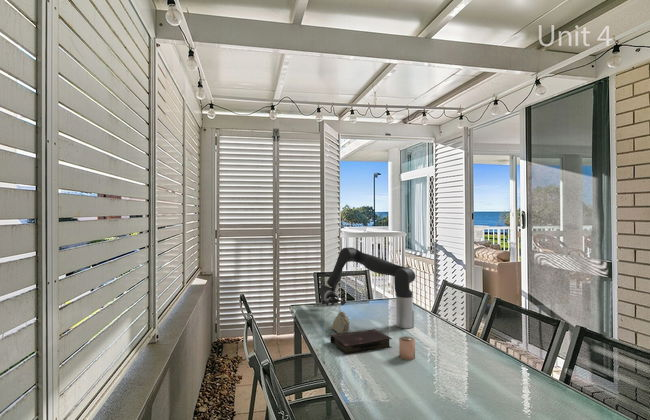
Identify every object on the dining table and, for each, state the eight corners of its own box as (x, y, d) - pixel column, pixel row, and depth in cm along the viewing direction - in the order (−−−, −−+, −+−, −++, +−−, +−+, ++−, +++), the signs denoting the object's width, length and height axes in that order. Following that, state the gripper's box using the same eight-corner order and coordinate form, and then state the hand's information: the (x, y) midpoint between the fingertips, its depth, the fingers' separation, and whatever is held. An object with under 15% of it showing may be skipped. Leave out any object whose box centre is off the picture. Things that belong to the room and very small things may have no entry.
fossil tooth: (339, 329, 213) (352, 334, 200) (329, 330, 210) (342, 335, 197) (339, 308, 214) (352, 312, 201) (329, 309, 211) (342, 313, 198)
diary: (330, 343, 188) (330, 333, 188) (374, 337, 197) (374, 328, 197) (345, 356, 171) (345, 345, 171) (393, 349, 180) (392, 338, 180)
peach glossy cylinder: (411, 353, 173) (411, 335, 173) (417, 359, 166) (417, 340, 166) (397, 354, 172) (397, 336, 172) (402, 360, 165) (402, 341, 165)
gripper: (319, 291, 235) (323, 298, 219) (342, 291, 237) (347, 297, 221) (319, 303, 235) (323, 310, 219) (342, 303, 237) (347, 310, 221)
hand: (335, 304), depth 220 cm, fingers open, 8 cm apart
